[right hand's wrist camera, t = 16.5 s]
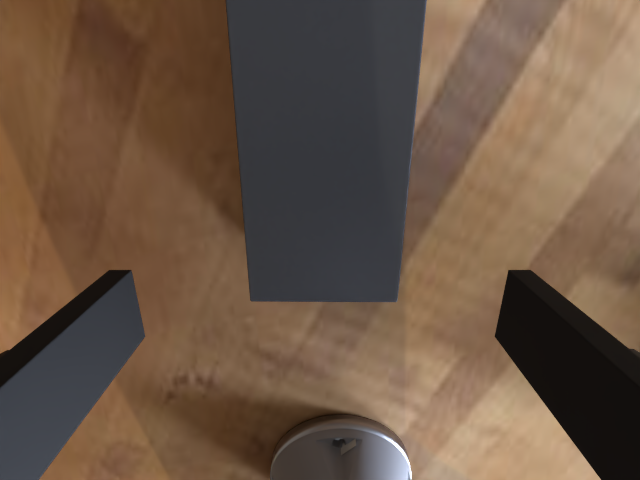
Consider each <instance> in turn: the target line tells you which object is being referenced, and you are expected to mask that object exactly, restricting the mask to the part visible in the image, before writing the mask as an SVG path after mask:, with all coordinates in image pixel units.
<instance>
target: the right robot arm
mask: <svg viewBox="0 0 640 480" xmlns="http://www.w3.org/2000/svg"><path fill="white" fill-rule="evenodd" d="M144 337H145V333H144V328H143V323H142V319H141V314H140V309H139V304H138V299H137V295H136V290H135V285H134V280H133V275H132V271H131V270H109V271H108V272H106V273H105V274H104V275H103V276H101V277H100V278H99V279H98V280H96V281H95V282H94V283H93V284H91V285H90V286H89V287H88V288H86V289H85V290H84V291H83V292H81V293H80V294H79V295H78V296H76V297H75V298H74V299H73V300H71V301H70V302H69V303H68V304H67V305H65V306H64V307H63V308H62V309H60V310H59V311H58V312H57V313H55V314H54V315H53V316H52V317H50V318H49V319H48V320H47V321H45V322H44V323H43V324H42V325H40V326H39V327H38V328H37V329H35V330H34V331H33V332H32V333H30V334H29V335H28V336H27V337H25V338H24V339H23V340H22V341H20V342H19V343H18V344H17V345H15V346H14V347H13V348H12V349H10V350H7V351H5V352H3V353H1V354H0V480H39V479H40V477H41V476H42V475H43V473H44V472H45V471H46V469H47V468H48V467H49V465H50V464H51V463H52V461H53V460H54V459H55V457H56V456H57V454H58V453H59V452H60V450H61V449H62V448H63V446H64V445H65V444H66V442H67V441H68V440H69V438H70V437H71V436H72V434H73V433H74V432H75V430H76V429H77V428H78V426H79V425H80V424H81V422H82V421H83V419H84V418H85V417H86V415H87V414H88V413H89V411H90V410H91V409H92V407H93V406H94V405H95V403H96V402H97V401H98V399H99V398H100V397H101V395H102V394H103V393H104V391H105V390H106V389H107V387H108V386H109V384H110V383H111V382H112V380H113V379H114V378H115V376H116V375H117V374H118V372H119V371H120V370H121V368H122V367H123V366H124V364H125V363H126V362H127V360H128V359H129V358H130V356H131V355H132V354H133V352H134V351H135V350H136V348H137V347H138V345H139V344H140V343H141V341H142V340H143V339H144ZM495 337H496V339H497V340H498V341H499V343H500V344H501V345H502V347H503V348H504V350H505V351H506V352H507V354H508V355H509V356H510V358H511V359H512V360H513V362H514V363H515V364H516V366H517V367H518V368H519V370H520V371H521V372H522V374H523V375H524V376H525V378H526V379H527V380H528V382H529V383H530V385H531V386H532V387H533V389H534V390H535V391H536V393H537V394H538V395H539V397H540V398H541V399H542V401H543V402H544V403H545V405H546V406H547V407H548V409H549V410H550V411H551V413H552V414H553V415H554V417H555V418H556V419H557V421H558V422H559V424H560V425H561V426H562V428H563V429H564V430H565V432H566V433H567V434H568V436H569V437H570V438H571V440H572V441H573V442H574V444H575V445H576V446H577V448H578V449H579V450H580V452H581V453H582V454H583V456H584V457H585V459H586V460H587V461H588V463H589V464H590V465H591V467H592V468H593V469H594V471H595V472H596V473H597V475H598V476H599V477H600V479H601V480H640V352H638V351H636V350H634V349H628V348H627V347H626V346H625V345H623V344H622V343H621V342H620V341H618V340H617V339H616V338H615V337H613V336H612V335H611V334H610V333H608V332H607V331H606V330H605V329H603V328H602V327H601V326H600V325H598V324H597V323H596V322H595V321H593V320H592V319H591V318H590V317H588V316H587V315H586V314H585V313H583V312H582V311H581V310H580V309H578V308H577V307H576V306H575V305H573V304H572V303H571V302H570V301H569V300H567V299H566V298H565V297H564V296H562V295H561V294H560V293H559V292H557V291H556V290H555V289H554V288H552V287H551V286H550V285H549V284H547V283H546V282H545V281H544V280H542V279H541V278H540V277H539V276H537V275H536V274H535V273H534V272H532V271H531V270H509V271H508V275H507V280H506V285H505V290H504V295H503V299H502V304H501V309H500V314H499V319H498V323H497V328H496V333H495ZM270 480H411V469H410V464H409V460H408V456H407V452H406V449H405V447H404V445H403V443H402V441H401V440H400V439H399V438H398V436H397V435H396V434H395V433H394V432H392V431H391V430H390V429H389V428H387V427H385V426H384V425H382V424H380V423H378V422H376V421H373V420H370V419H367V418H364V417H359V416H353V415H329V416H322V417H318V418H314V419H311V420H308V421H306V422H303V423H301V424H299V425H297V426H296V427H294V428H293V429H291V430H290V431H289V432H287V433H286V434H285V435H284V436H283V437H282V438H281V440H280V441H279V442H278V444H277V446H276V448H275V450H274V453H273V457H272V464H271V472H270Z"/></svg>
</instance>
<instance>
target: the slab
mask: <svg viewBox="0 0 640 480" xmlns="http://www.w3.org/2000/svg"><path fill="white" fill-rule="evenodd" d="M426 1H427V0H226V10H227V23H228V35H229V47H230V59H231V71H232V83H233V96H234V108H235V120H236V132H237V144H238V157H239V169H240V181H241V193H242V205H243V217H244V230H245V242H246V254H247V266H248V278H249V291H250V300H251V301H285V302H397V301H398V290H399V280H400V270H401V259H402V249H403V239H404V228H405V218H406V208H407V197H408V187H409V177H410V166H411V156H412V146H413V135H414V125H415V115H416V104H417V94H418V84H419V73H420V63H421V53H422V42H423V32H424V22H425V11H426Z"/></svg>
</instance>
